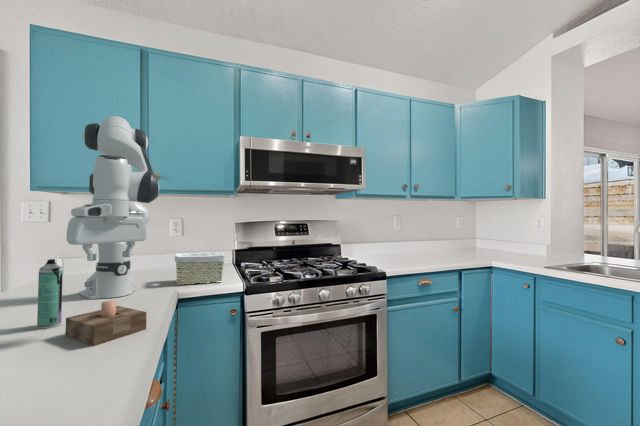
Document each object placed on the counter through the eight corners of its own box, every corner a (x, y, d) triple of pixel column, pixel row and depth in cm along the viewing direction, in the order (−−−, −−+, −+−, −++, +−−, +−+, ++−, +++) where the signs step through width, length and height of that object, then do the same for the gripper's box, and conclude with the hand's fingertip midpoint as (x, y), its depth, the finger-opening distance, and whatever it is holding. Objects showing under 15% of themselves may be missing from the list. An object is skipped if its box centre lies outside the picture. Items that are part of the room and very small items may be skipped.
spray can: (65, 322, 97) (67, 258, 98) (51, 329, 92) (53, 260, 92) (47, 322, 97) (49, 258, 97) (31, 329, 91) (34, 260, 92)
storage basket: (221, 277, 175) (221, 251, 176) (225, 283, 160) (225, 254, 161) (174, 280, 165) (175, 252, 166) (174, 286, 151) (174, 256, 151)
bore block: (65, 336, 86) (66, 317, 86) (117, 321, 99) (118, 305, 99) (93, 345, 80) (94, 326, 80) (146, 329, 92) (146, 312, 92)
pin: (98, 327, 89) (99, 302, 89) (111, 324, 92) (112, 300, 92) (104, 329, 87) (105, 304, 87) (117, 326, 90) (118, 302, 90)
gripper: (139, 211, 101) (138, 254, 101) (64, 209, 83) (62, 262, 83) (151, 211, 98) (150, 255, 98) (76, 209, 80) (75, 263, 80)
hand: (109, 258), depth 90 cm, fingers open, 8 cm apart
